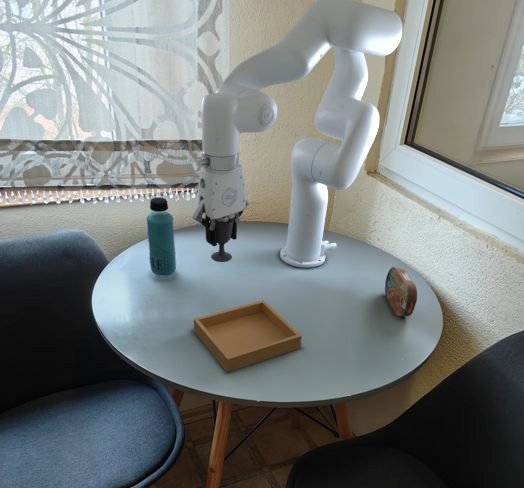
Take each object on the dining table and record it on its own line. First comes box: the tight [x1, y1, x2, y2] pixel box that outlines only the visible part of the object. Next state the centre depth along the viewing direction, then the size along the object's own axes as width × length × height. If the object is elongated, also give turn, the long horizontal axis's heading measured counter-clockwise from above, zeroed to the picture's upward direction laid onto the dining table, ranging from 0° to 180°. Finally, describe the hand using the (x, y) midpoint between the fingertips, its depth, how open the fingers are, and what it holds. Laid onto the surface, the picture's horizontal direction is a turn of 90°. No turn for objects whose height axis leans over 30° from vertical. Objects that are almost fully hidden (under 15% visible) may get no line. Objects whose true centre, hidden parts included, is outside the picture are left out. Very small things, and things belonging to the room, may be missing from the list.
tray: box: [193, 299, 303, 373], centre depth 110 cm, size 18×16×3 cm
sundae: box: [207, 214, 237, 263], centre depth 116 cm, size 7×7×15 cm
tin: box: [384, 266, 418, 317], centre depth 124 cm, size 15×3×8 cm, turn 5°
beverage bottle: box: [146, 196, 177, 277], centre depth 125 cm, size 6×7×20 cm
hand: (221, 239), depth 118 cm, fingers closed on sundae, 4 cm apart
